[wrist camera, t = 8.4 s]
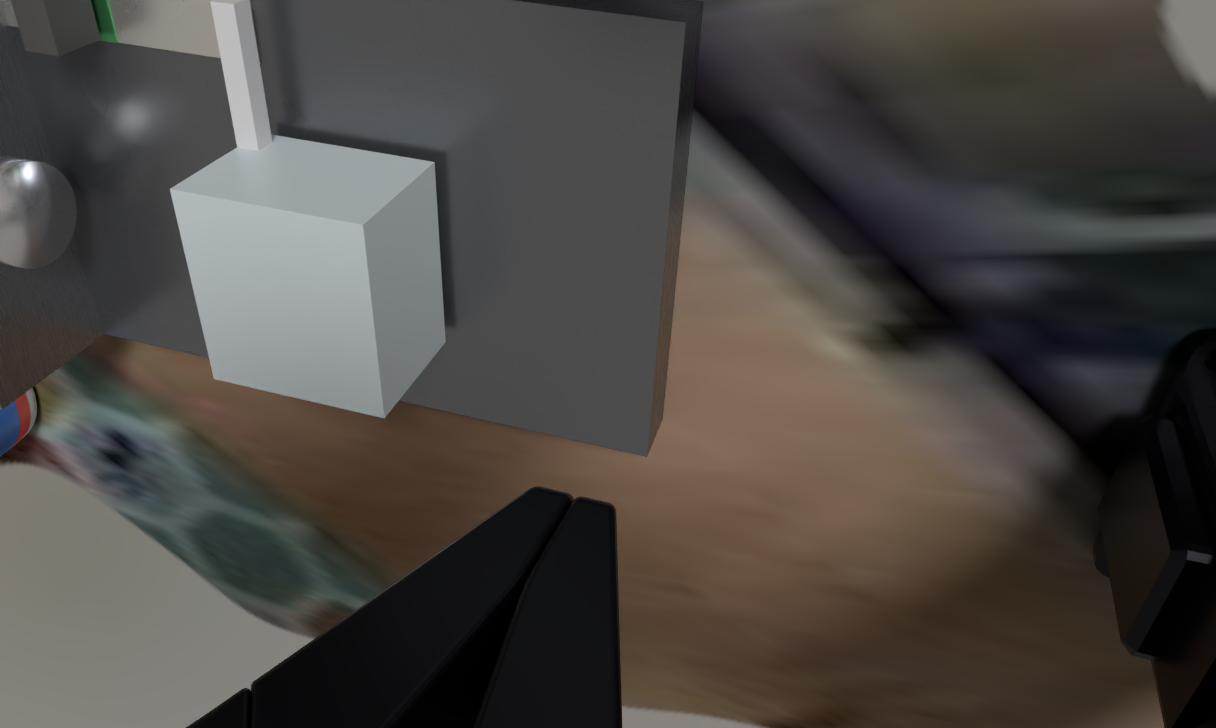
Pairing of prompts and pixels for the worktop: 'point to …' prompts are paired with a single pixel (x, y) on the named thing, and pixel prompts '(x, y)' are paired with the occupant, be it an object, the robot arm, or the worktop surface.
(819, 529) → the worktop surface
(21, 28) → the max marker
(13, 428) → the pill bottle
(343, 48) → the gauge base
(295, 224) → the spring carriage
